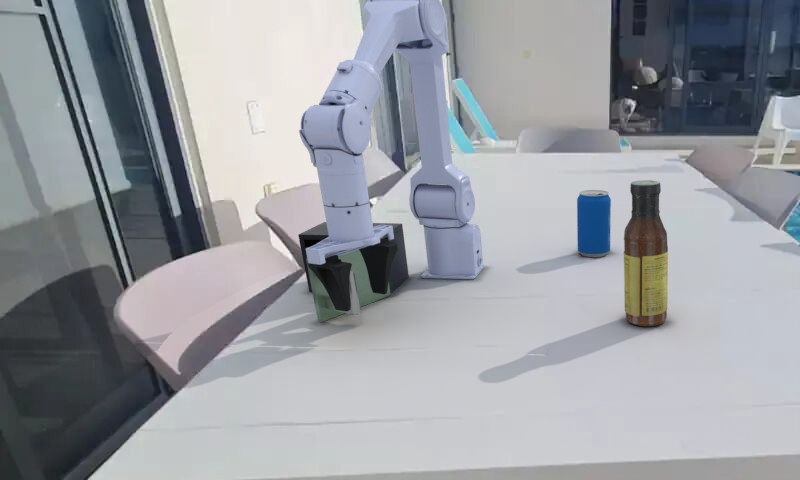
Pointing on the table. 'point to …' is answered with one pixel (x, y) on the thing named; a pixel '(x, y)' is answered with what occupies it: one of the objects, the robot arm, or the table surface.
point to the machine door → (357, 286)
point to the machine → (400, 261)
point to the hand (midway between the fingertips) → (362, 301)
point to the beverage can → (593, 223)
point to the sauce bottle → (645, 258)
